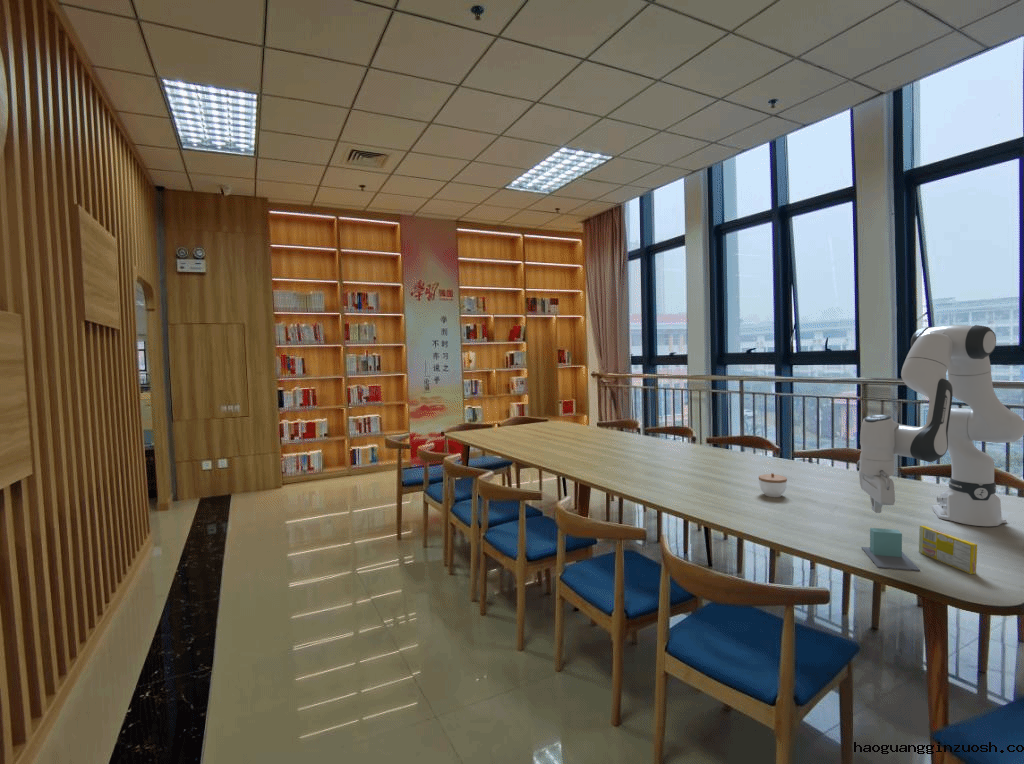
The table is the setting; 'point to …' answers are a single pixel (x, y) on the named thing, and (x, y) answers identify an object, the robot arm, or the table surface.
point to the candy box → (948, 549)
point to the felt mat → (891, 561)
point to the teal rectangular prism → (886, 542)
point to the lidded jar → (772, 484)
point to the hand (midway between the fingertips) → (876, 511)
